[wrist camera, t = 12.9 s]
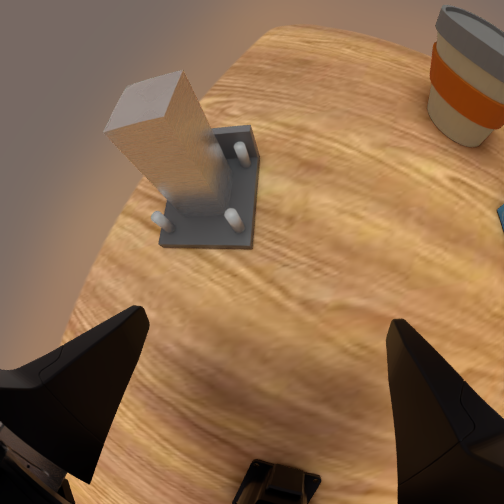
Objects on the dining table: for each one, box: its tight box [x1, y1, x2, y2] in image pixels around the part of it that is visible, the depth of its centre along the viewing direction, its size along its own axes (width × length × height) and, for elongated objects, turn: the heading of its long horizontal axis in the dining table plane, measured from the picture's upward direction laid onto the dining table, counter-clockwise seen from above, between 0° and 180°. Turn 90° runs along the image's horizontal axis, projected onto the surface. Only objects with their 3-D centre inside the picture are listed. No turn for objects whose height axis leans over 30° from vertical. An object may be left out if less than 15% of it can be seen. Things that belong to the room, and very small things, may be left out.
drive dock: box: [151, 125, 260, 249], centre depth 24 cm, size 10×9×5 cm
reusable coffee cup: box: [427, 5, 504, 147], centre depth 17 cm, size 13×13×15 cm
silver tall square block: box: [103, 70, 233, 217], centre depth 20 cm, size 4×4×13 cm
